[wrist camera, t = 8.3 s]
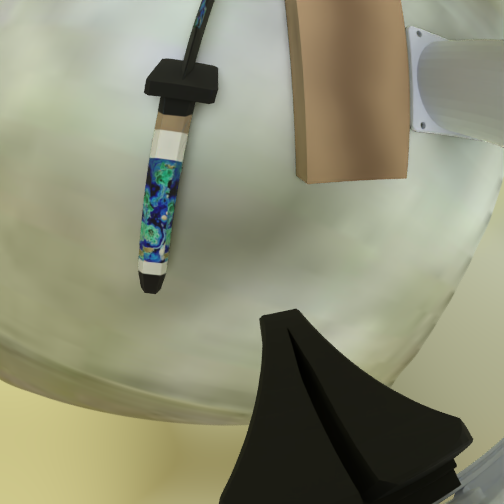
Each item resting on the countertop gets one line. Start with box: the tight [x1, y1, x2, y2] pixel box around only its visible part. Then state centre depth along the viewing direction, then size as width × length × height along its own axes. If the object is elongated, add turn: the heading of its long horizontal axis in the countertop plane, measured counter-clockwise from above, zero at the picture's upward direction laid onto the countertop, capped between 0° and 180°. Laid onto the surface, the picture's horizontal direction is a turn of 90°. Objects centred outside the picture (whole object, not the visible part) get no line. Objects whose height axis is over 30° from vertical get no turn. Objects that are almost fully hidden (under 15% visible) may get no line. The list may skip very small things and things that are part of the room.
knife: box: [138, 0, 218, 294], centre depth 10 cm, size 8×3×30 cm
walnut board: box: [285, 0, 410, 184], centre depth 12 cm, size 7×20×2 cm, turn 4°
